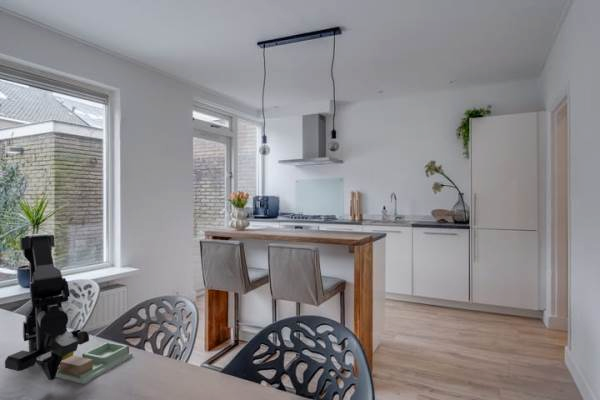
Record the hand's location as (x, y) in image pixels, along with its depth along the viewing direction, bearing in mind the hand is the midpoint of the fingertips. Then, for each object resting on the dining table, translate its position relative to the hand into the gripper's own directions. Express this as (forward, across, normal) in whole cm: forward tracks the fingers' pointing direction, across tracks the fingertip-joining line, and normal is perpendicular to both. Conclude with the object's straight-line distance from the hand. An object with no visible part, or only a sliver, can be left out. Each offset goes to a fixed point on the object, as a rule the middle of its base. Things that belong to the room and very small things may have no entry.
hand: (51, 379), depth 95 cm
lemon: (+3, +9, +9) cm, 13 cm away
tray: (+2, +13, 0) cm, 13 cm away
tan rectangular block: (+1, +7, 0) cm, 7 cm away
